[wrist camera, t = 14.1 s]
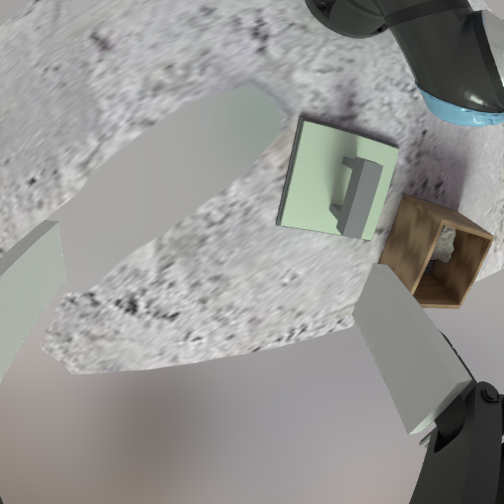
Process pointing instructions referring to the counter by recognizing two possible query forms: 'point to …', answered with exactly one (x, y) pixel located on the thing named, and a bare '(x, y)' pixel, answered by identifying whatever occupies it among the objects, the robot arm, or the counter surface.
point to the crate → (421, 248)
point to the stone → (444, 245)
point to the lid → (338, 182)
